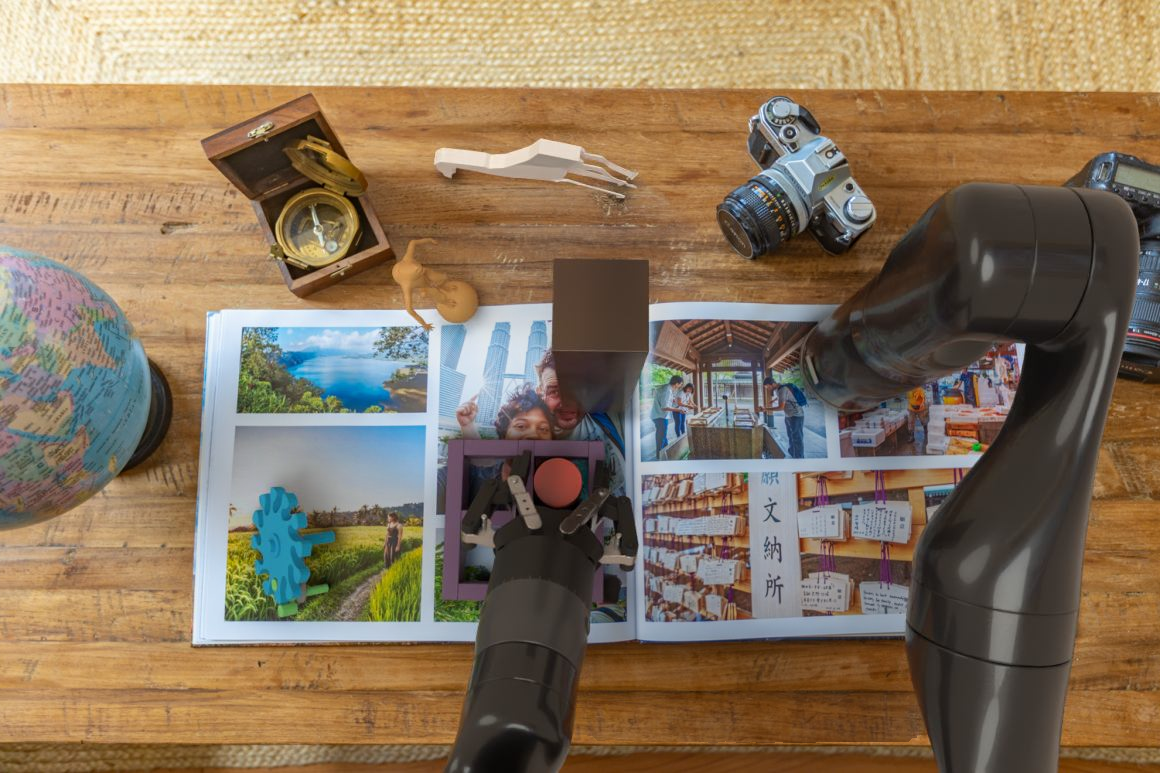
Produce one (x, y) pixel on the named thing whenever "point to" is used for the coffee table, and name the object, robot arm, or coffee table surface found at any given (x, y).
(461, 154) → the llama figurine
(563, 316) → the stand
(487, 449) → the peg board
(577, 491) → the red cylinder
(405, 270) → the figurine
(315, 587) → the gear
